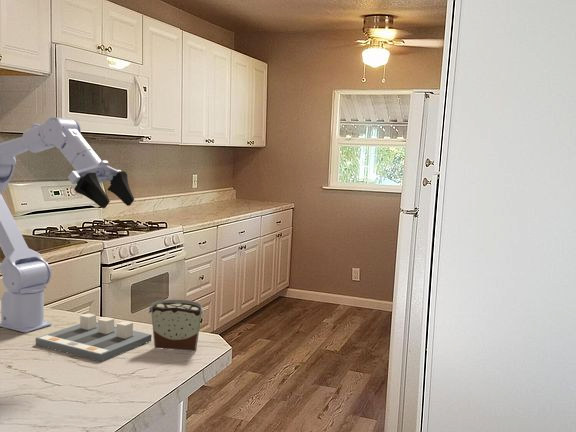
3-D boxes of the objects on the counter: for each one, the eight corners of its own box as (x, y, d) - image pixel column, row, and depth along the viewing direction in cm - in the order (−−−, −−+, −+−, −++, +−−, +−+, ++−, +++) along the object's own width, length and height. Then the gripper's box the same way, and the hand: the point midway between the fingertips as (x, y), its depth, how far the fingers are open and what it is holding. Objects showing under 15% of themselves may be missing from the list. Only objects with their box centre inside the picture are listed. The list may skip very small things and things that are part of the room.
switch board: (35, 344, 130) (35, 337, 130) (89, 326, 145) (89, 320, 144) (101, 361, 122) (101, 354, 122) (151, 340, 136) (151, 334, 136)
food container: (208, 343, 137) (210, 301, 136) (202, 352, 131) (203, 308, 129) (156, 339, 138) (157, 297, 137) (147, 347, 132) (148, 304, 131)
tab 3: (116, 336, 133) (116, 323, 133) (124, 333, 136) (124, 321, 135) (125, 338, 132) (125, 325, 132) (132, 335, 134) (132, 322, 134)
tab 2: (98, 332, 136) (98, 319, 135) (105, 329, 138) (105, 317, 138) (106, 334, 135) (106, 321, 134) (114, 331, 137) (114, 318, 137)
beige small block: (80, 328, 138) (80, 315, 138) (88, 325, 140) (88, 313, 140) (88, 330, 137) (88, 317, 137) (96, 327, 139) (96, 314, 139)
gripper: (67, 145, 123) (104, 192, 119) (116, 146, 136) (151, 189, 132) (51, 169, 125) (86, 216, 122) (100, 168, 138) (134, 211, 135)
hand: (119, 203), depth 127 cm, fingers open, 7 cm apart
